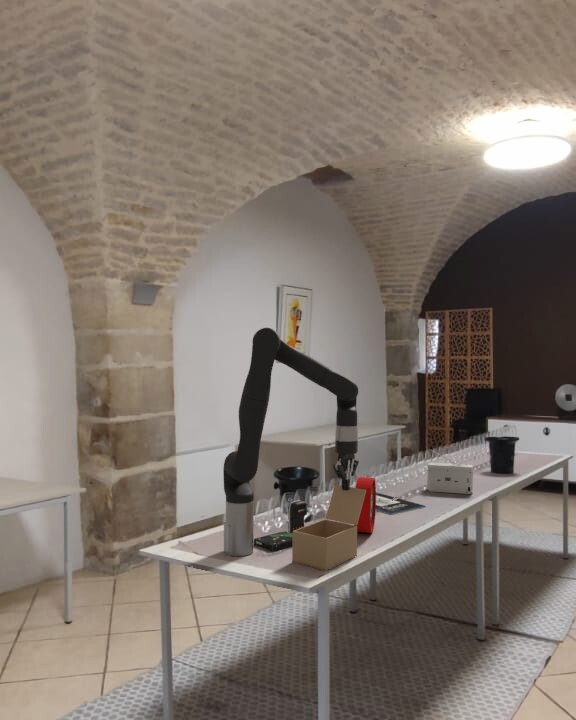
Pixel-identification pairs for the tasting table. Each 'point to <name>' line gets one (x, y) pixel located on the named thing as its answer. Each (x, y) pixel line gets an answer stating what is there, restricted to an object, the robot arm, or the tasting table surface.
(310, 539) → the carton
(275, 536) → the disk drive
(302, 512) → the battery
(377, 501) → the sketchbook
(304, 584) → the tasting table surface
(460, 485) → the stereo radio cassette player
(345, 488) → the robot arm
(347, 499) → the carton flap
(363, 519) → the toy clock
